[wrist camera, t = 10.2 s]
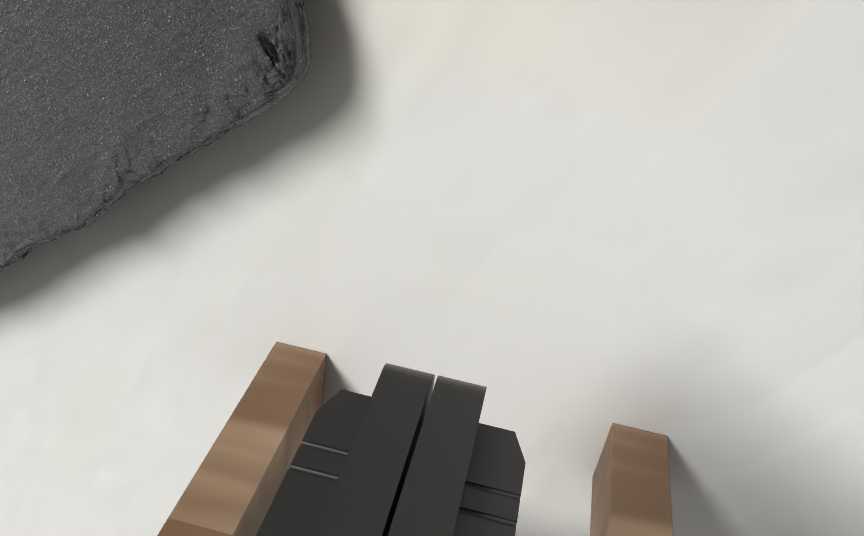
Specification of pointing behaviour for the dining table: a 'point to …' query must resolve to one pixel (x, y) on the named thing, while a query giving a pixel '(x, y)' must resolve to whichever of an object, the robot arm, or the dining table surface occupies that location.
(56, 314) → the dining table surface
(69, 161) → the serving board
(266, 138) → the dining table surface
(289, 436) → the bridge
